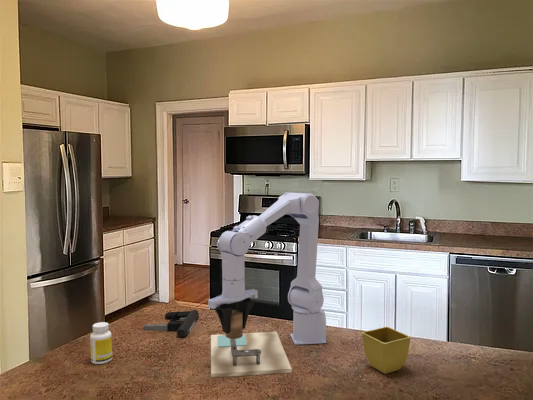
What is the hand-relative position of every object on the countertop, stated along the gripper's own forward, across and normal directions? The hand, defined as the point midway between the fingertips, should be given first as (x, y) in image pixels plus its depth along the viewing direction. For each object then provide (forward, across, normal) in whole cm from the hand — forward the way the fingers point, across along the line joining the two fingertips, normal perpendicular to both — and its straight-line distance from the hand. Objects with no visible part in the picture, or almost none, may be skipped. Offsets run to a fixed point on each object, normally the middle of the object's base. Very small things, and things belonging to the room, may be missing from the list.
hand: (234, 330), depth 117 cm
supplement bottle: (+10, +25, -26) cm, 37 cm away
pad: (+9, -8, -11) cm, 17 cm away
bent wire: (+8, -4, 0) cm, 9 cm away
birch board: (+9, -7, -3) cm, 12 cm away
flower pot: (+10, -27, +27) cm, 40 cm away
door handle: (+10, -2, -37) cm, 38 cm away
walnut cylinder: (+2, 0, 0) cm, 2 cm away
